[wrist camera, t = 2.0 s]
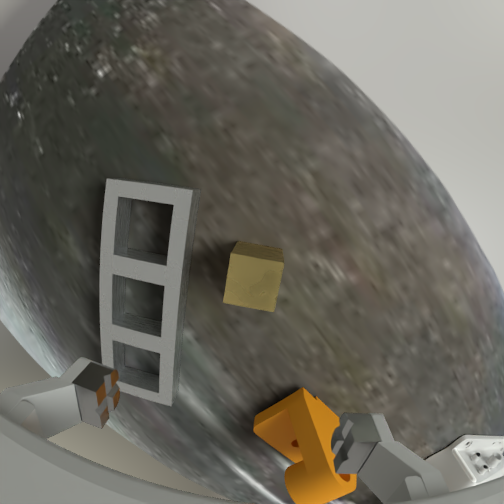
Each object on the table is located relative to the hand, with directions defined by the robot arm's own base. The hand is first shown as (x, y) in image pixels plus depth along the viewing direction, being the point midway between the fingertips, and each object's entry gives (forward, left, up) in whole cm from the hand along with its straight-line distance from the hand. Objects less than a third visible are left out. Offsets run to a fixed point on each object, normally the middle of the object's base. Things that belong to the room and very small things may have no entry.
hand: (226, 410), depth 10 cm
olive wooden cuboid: (0, 0, -19) cm, 19 cm away
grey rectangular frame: (+10, +5, -19) cm, 22 cm away
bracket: (-9, +18, -19) cm, 28 cm away
